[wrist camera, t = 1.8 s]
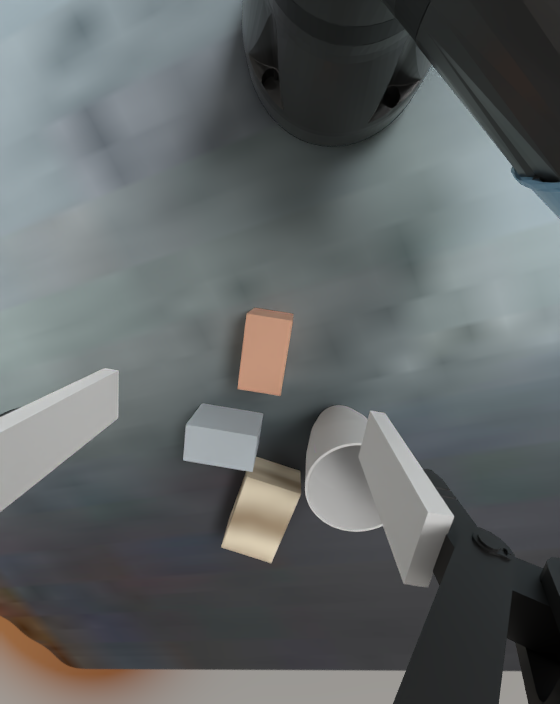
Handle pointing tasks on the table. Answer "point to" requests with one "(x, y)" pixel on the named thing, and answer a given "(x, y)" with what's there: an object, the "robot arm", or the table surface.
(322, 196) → the table surface
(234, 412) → the slate block
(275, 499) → the maple block
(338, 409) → the cup
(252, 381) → the terracotta block
